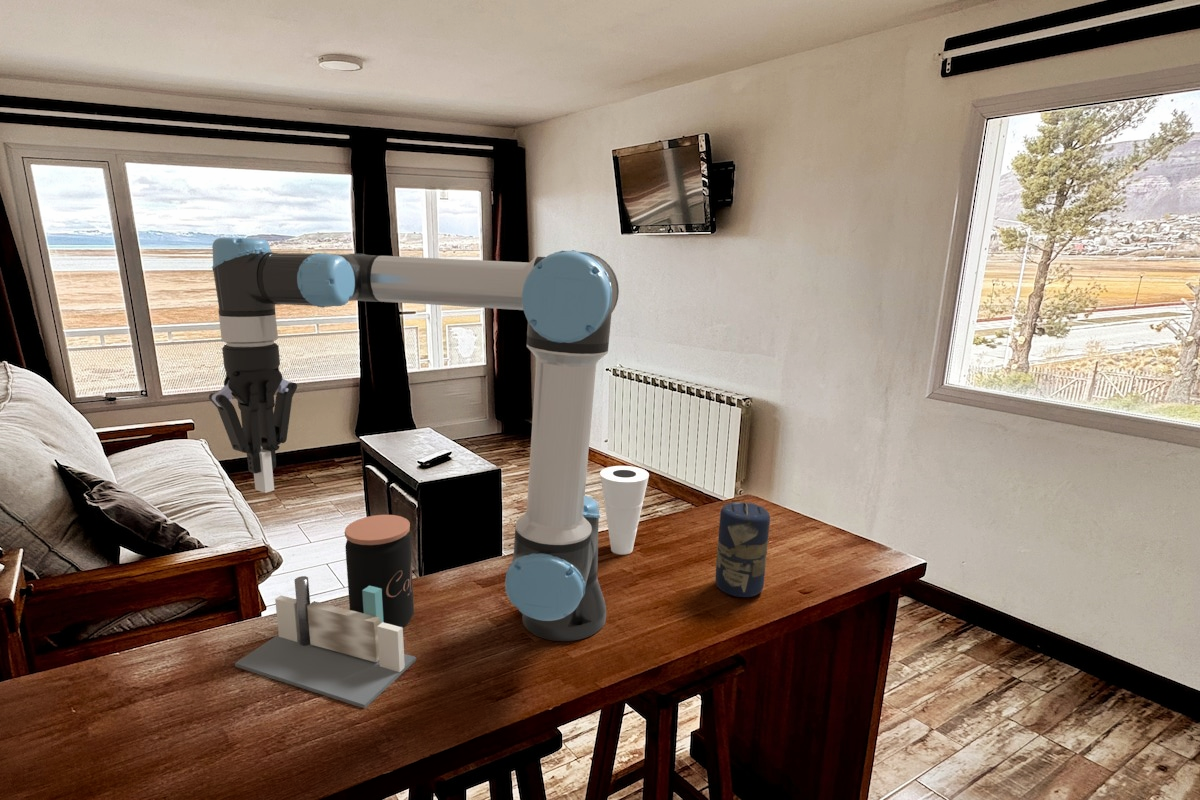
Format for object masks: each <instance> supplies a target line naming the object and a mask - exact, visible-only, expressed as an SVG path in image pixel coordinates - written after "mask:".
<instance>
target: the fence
mask: <svg viewBox="0 0 1200 800" xmlns="http://www.w3.org/2000/svg"><path fill="white" fill-rule="evenodd" d="M274 600H275V602H274V603H275V609H276V612H275V613H276V623H277V631H278V634H279V637H282V638H285V639H289V640H292V641H295V642H298V641H300V636H299V625H298V614H297V603H296V598H292V597H289V596H284V595H281V594H280V595H279V596H278V597H276V598H274ZM377 630H378V647H379V664H380V666H381V667H384V668H387V669H391V670H394V671H398V672H401V671H402V670H403V669H404V668H405V664H404V654H405V646H404V628H402V627H399V626H395V625H391V624H387V623H384V622H382V623H381V624H380V625H378V626H377Z"/></svg>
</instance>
